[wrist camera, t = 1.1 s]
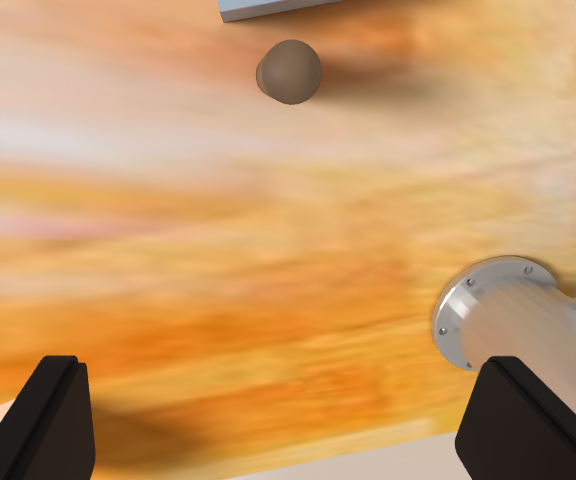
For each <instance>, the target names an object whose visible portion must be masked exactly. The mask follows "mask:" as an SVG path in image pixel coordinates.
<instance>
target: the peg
mask: <svg viewBox="0 0 576 480" xmlns="http://www.w3.org/2000/svg"><path fill="white" fill-rule="evenodd" d="M321 72H322V71H321V64H320V60H319V58H318V56H317V54H316V53H315V51H314V50H313V49H312V48H311V47H310V46H309V45H307V44H306V43H304V42H302V41H298V40H286V41H282V42H280V43H278V44H276V45H275V46H274V47H273V48H272V49H271V50H270V51H269V52H268V53H267V54H266V56H265V57H264V58H263V59H262V60H261V62H260V63H259V65H258V67H257V71H256V80H257V84H258V86H259V88H260V89H261V90H262V92H264V93H265V94H266V95H268V96H270V97H272V98H273V99H275V100H277V101H279V102H281V103H284V104H289V105H294V104H299V103H302V102H304V101H306V100H308V99H309V98H310V97H311V96H312V95H313V94H314V93H315V92H316V90H317V88H318V86H319V84H320V81H321Z"/></svg>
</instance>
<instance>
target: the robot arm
mask: <svg viewBox="0 0 576 480" xmlns="http://www.w3.org/2000/svg"><path fill="white" fill-rule="evenodd" d="M431 332H432V337H433V340H434V342H435V344H436V346H437V348H438V350H439V351H440V352H441V354H442V355H443V356H444V357H445V358H446V359H447V360H448V361H449V362H450V363H452V364H453V365H455V366H457V367H459V368H462V369H465V370H468V371H476V372H477V373H478V374H479V375H478V378H477V380H476V383H475V386H474V389H473V391H472V394H471V397H470V400H469V402H468V405H467V408H466V411H465V413H464V416H463V419H462V422H461V424H460V427H459V430H458V433H457V436H456V438H455V449H456V452H457V455H458V457H459V458H460V460H461V462H462V463H463V465H464V467H465V468H466V470H467V472H468V473H469V475H470V477H471V478H472V480H576V297H575V298H571V297H569V296H567V295H565V294H564V293H562V292H561V291H559V289H558V285H557V283H556V281H555V280H554V278H553V276H552V275H551V274H550V273H549V272H548V271H547V270H546V269H545V268H543V267H541V266H540V265H538V264H537V263H535V262H533V261H531V260H528V259H526V258H521V257H515V256H501V257H496V258H491V259H487V260H485V261H482V262H479V263H477V264H475V265H473V266H471V267H470V268H468V269H466V270H464V271H463V272H462V273H461V274H459V275H458V276H457V277H456V278H454V279H453V280H452V282H451V283H450V284H449V285H448V286H447V287H446V288H445V289H444V291H443V292H442V294H441V295H440V297H439V298H438V301H437V303H436V305H435V307H434V310H433V315H432V319H431ZM94 464H95V443H94V433H93V423H92V413H91V403H90V393H89V384H88V374H87V366H86V363H78V359H77V357H76V356H45V357H43V359H42V360H41V361H40V363H39V364H38V366H37V367H36V369H35V370H34V372H33V373H32V375H31V376H30V378H29V379H28V381H27V382H26V384H25V385H24V387H23V388H22V390H21V391H20V393H19V395H18V396H17V398H16V399H15V401H14V402H13V404H12V405H11V407H10V408H9V410H8V411H7V413H6V414H5V416H4V417H3V419H2V420H1V422H0V480H90V478H91V475H92V472H93V468H94Z"/></svg>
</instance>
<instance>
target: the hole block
mask: <svg viewBox="0 0 576 480" xmlns="http://www.w3.org/2000/svg"><path fill="white" fill-rule="evenodd" d="M337 1H343V0H218V5H219V10H220V14H221V17H222V20H223V23H224V22H230V21H235V20H240V19H246V18H251V17H257V16H262V15H267V14H273V13H278V12H283V11H289V10H294V9H300V8H305V7H310V6H316V5H321V4H326V3H332V2H337Z"/></svg>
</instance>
